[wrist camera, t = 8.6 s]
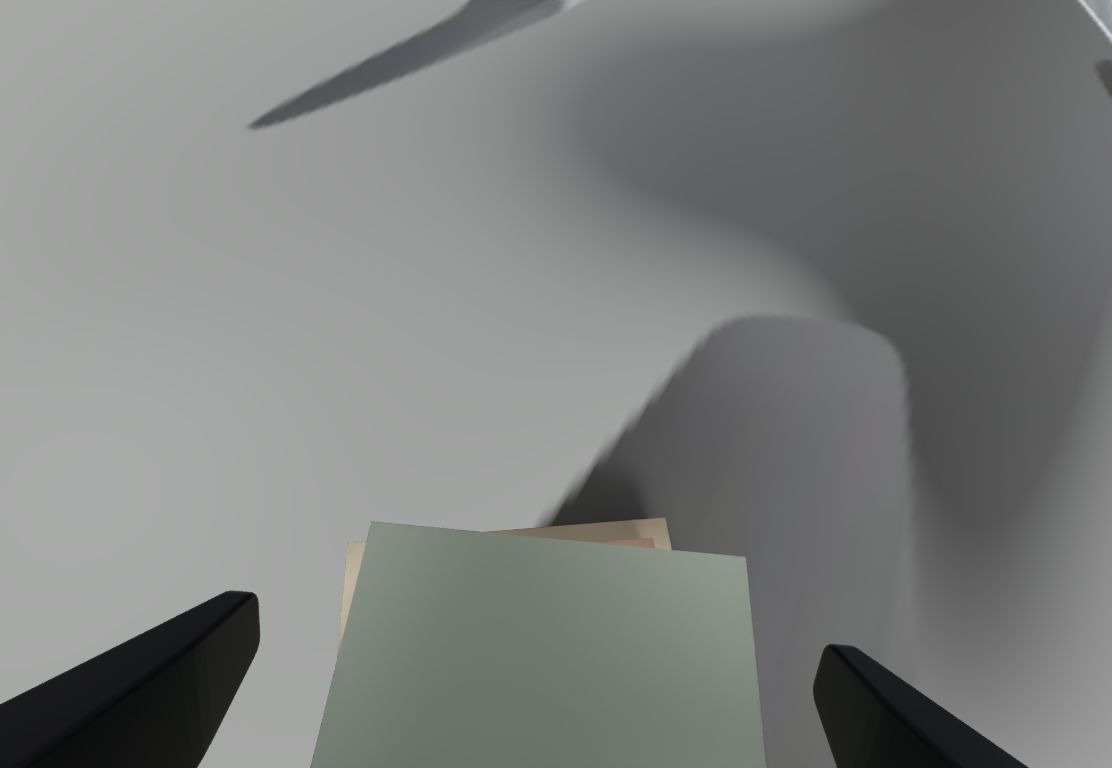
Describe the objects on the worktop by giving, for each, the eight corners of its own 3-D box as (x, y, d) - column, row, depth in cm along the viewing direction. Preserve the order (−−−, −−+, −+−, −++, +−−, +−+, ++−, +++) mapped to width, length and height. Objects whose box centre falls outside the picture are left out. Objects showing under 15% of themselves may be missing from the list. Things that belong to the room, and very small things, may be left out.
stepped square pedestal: (722, 909, 16) (774, 964, 12) (330, 975, 14) (282, 1054, 11) (652, 531, 21) (676, 505, 18) (362, 555, 20) (334, 531, 17)
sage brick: (612, 844, 13) (801, 1140, 5) (412, 828, 13) (226, 1106, 5) (616, 626, 16) (745, 556, 7) (448, 612, 16) (371, 521, 7)
